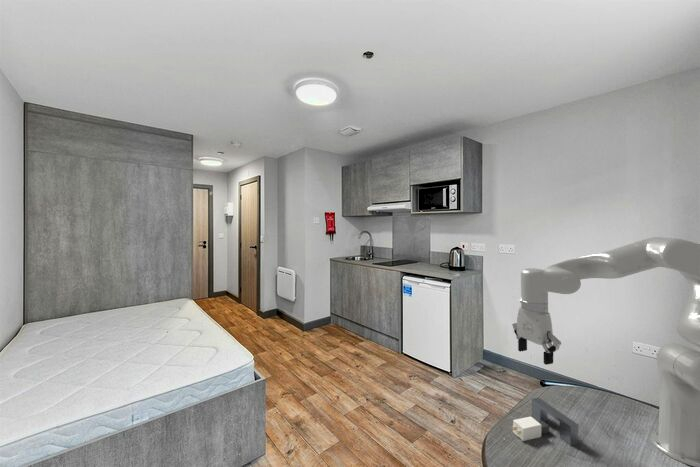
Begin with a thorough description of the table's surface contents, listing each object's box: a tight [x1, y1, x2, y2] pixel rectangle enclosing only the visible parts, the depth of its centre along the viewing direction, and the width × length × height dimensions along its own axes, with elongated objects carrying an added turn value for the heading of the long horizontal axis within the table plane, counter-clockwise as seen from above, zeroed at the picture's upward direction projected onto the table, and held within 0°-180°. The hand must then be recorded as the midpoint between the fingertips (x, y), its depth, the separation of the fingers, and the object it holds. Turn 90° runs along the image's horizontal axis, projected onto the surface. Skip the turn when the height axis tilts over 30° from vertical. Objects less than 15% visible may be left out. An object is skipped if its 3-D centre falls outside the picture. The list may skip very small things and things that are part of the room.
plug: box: [512, 415, 550, 442], centre depth 92 cm, size 12×4×4 cm, turn 103°
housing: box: [531, 397, 579, 446], centre depth 94 cm, size 3×14×6 cm, turn 13°
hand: (534, 356), depth 95 cm, fingers open, 9 cm apart
